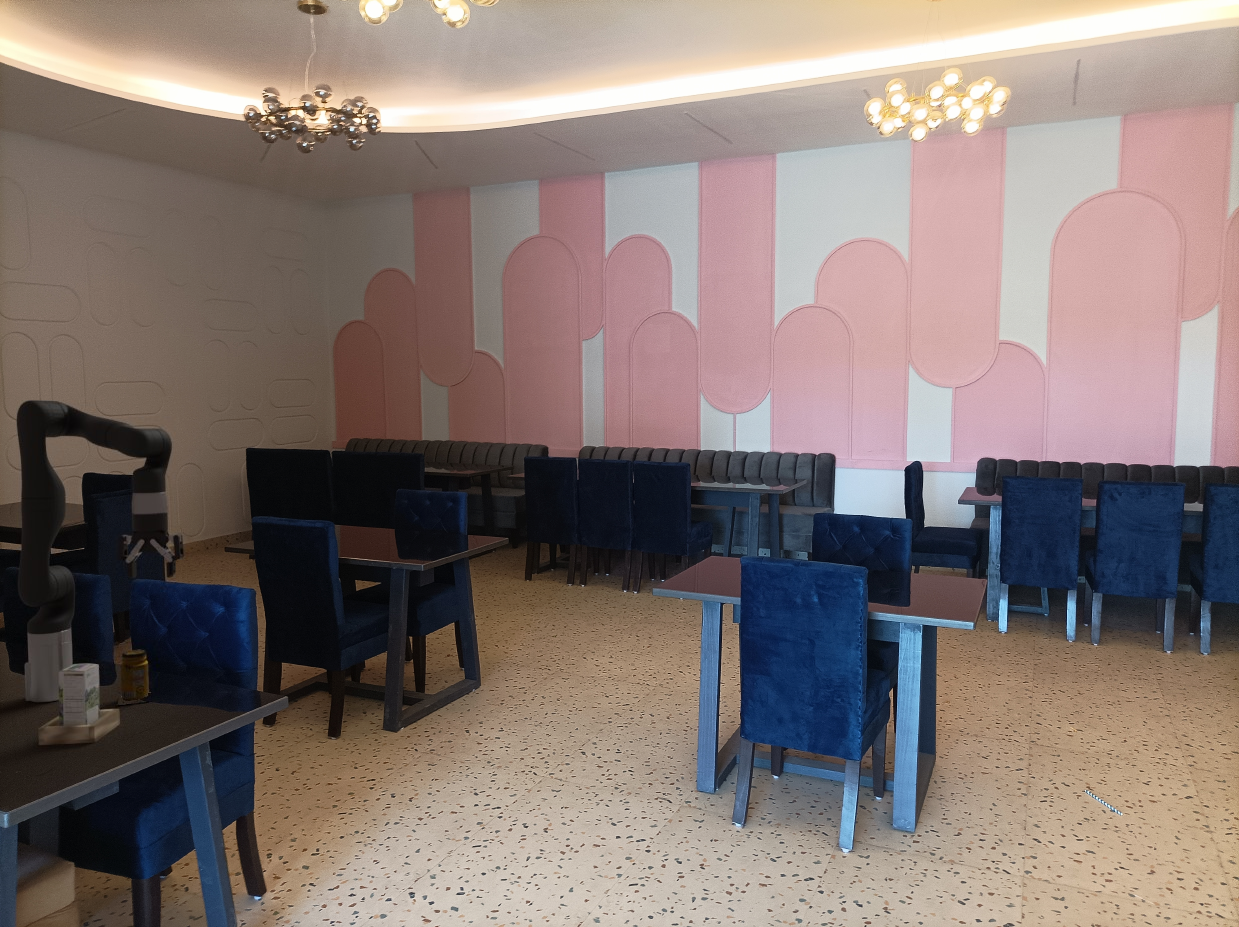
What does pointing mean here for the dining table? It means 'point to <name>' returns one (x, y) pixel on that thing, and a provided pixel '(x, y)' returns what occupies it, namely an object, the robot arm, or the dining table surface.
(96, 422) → the robot arm
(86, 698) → the syrup box
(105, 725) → the wooden tray
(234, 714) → the dining table surface
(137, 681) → the condiment
